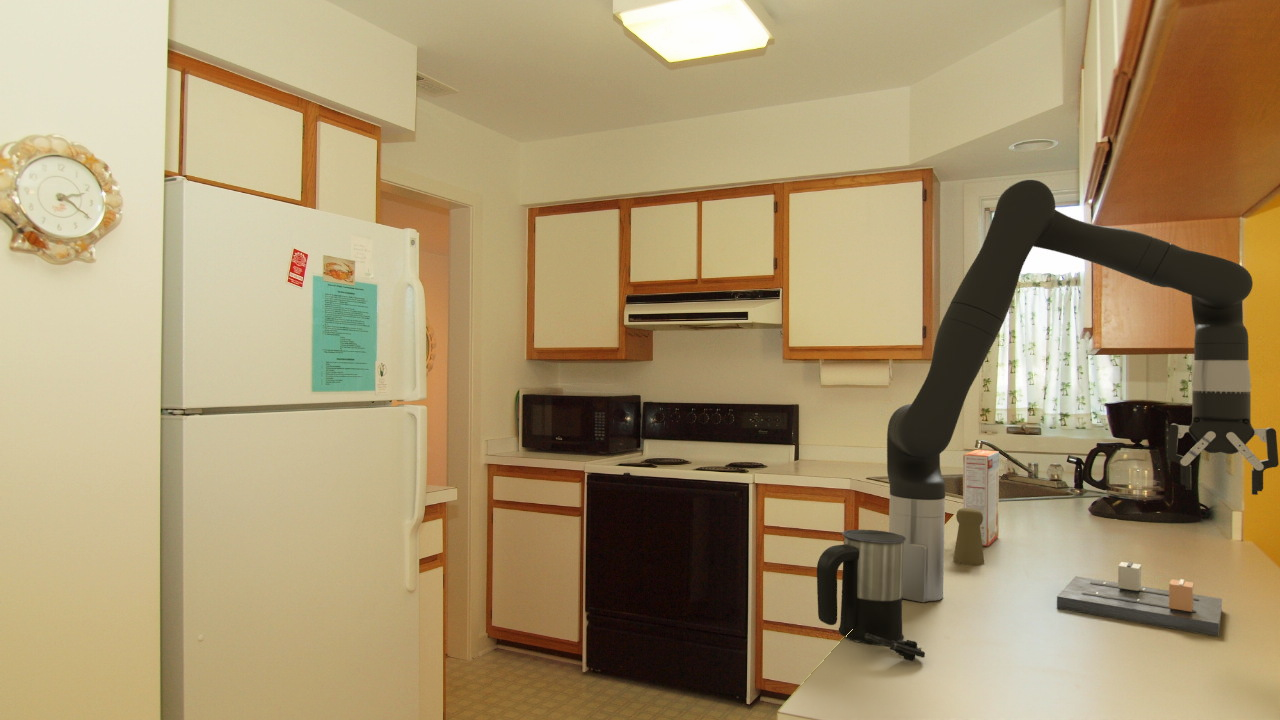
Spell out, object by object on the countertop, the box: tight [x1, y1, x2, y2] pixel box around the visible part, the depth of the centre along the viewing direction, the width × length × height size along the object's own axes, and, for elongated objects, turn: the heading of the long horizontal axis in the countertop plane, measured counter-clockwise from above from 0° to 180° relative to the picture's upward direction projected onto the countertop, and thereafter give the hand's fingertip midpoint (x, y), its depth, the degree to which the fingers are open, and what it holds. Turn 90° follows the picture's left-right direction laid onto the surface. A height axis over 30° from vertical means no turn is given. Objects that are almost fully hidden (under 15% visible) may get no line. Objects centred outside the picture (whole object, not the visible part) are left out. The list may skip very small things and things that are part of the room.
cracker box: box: [962, 449, 1000, 547], centre depth 191 cm, size 14×6×21 cm, turn 147°
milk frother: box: [816, 529, 926, 662], centre depth 115 cm, size 14×16×15 cm
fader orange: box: [1168, 578, 1195, 612], centre depth 129 cm, size 4×3×4 cm
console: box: [1056, 575, 1223, 638], centre depth 136 cm, size 18×22×2 cm
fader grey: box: [1117, 561, 1142, 591], centre depth 141 cm, size 4×3×4 cm
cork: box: [953, 507, 985, 566], centre depth 169 cm, size 6×6×11 cm
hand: (1221, 491), depth 128 cm, fingers open, 8 cm apart
